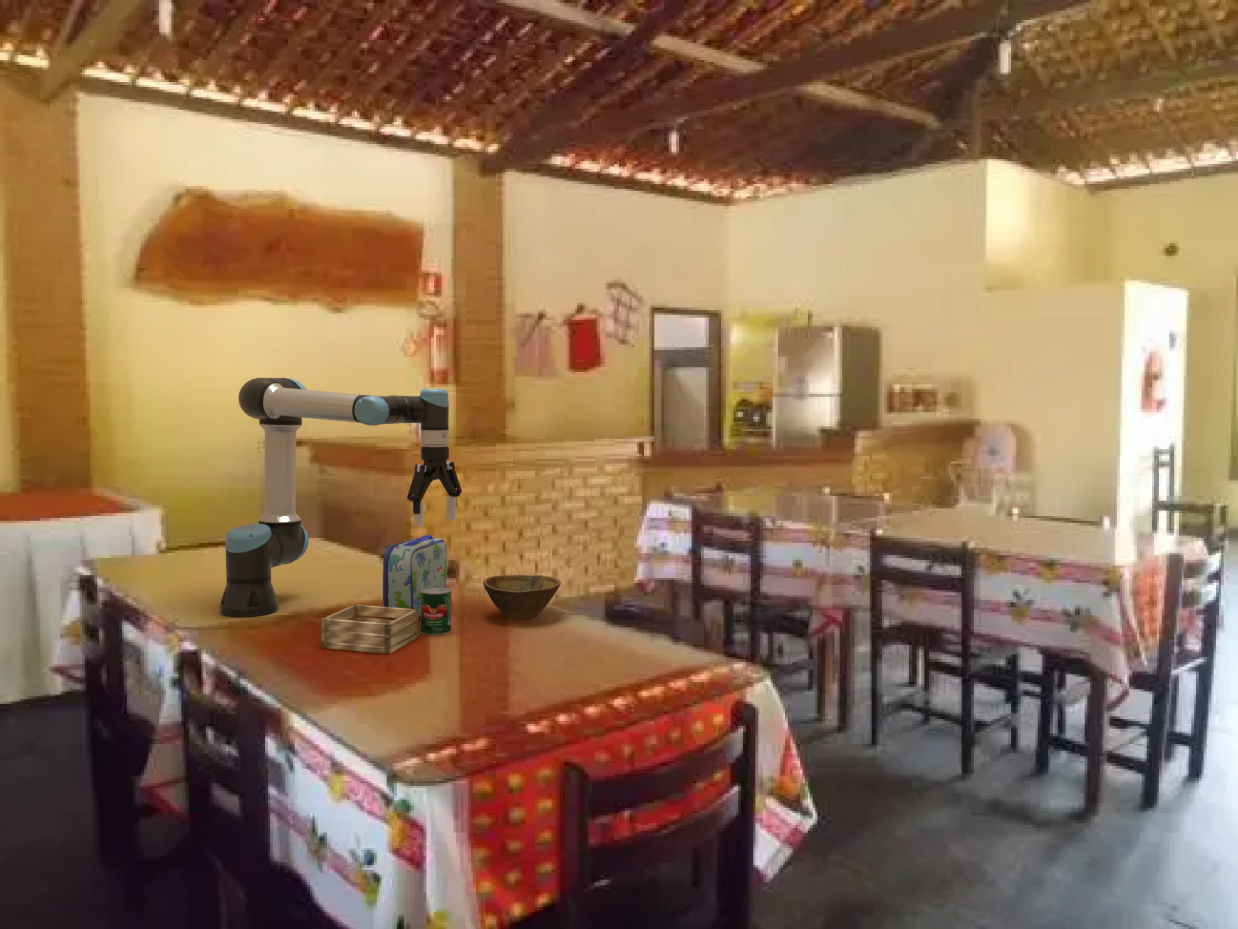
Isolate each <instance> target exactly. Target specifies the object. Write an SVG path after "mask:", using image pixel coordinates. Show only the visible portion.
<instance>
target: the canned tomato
mask: <svg viewBox="0 0 1238 929" xmlns="http://www.w3.org/2000/svg"><path fill="white" fill-rule="evenodd" d="M451 632H452V588H450V587H447V586H446V587H428V588H424V589H421V617H420V629H419V633H420V634H422V635H426V636H442V635H443V636H444V635H447V634H450V633H451Z"/></svg>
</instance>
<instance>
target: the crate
mask: <svg viewBox="0 0 1238 929" xmlns="http://www.w3.org/2000/svg"><path fill="white" fill-rule="evenodd" d="M390 618H392V619H390ZM320 622H321V623H320V626H321V627H320V629H321V630H320V631H321V632H320V634H321V648H322V649H323V648H324V649H329V650H331V649H333V650H341V651H343V650H344V651H354V652H367V653H376V654H385V655H386V654H387V655H388V654H389V655H391V654H392V653H394V652H396V651H397V650H399V649H401V648H403V647H404V646H407V644H409V643H411V642H412V641H414V640H416V639H417V638H419V637H420V636H419V635H420V618H419V610H417V609H404V608H392V607H384V606H377V605H366V604H365V605H363V604H352V605H350V606H347V607H346V608H343V609H341V610H339V611H337V612H334V613H331V614H330V615H328V616H326V617H323V618H321V619H320Z"/></svg>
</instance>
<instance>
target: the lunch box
mask: <svg viewBox="0 0 1238 929" xmlns="http://www.w3.org/2000/svg"><path fill="white" fill-rule="evenodd" d="M447 576H448V549H447V544H446V542H445V540H444V539H443V538H438V537H437V538H435V537H433V535H432V534H429V535H428V534H427V535H425V534H424V535H422V536H420V537H415V538H413V539H409V540H405V541H402V542H398V543H395V544H392V545H390V546H388V547H386V549H385V552H384V555H383V562H382V604H383V607H392V608H404V609H417V610H419V619H421V589H424V588H428V587H447V581H448V580H447Z"/></svg>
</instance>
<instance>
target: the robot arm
mask: <svg viewBox="0 0 1238 929" xmlns="http://www.w3.org/2000/svg"><path fill="white" fill-rule="evenodd" d="M419 394H420V395H396V394H395V395H370V394H369V395H368V394H367V395H366V394H355V393H346V392H345V393H344V392H335V391H334V392H333V391H326V390H325V391H324V390H311V389H307V388H306V387H305V385H304V384H302V382H300V381H298V380H296V379H294V378H287V377H256V378H255V377H254V378H252V379H250V380H248V381H246V382H245V383H244V384H243V385H242V386H241V388H240V390H239V392H238V396H237V397H238V398H237V399H238V404H239V407H240V409H241V410H242V412H243V413H245V415H247V416H249V418H252V419H255V420H258V425H259V426H260V427H261V428H262V429H263V430H264V487H263V488H264V489H263V490H264V492H263V493H264V496H263V498H264V503H263V504H264V505H263V506H264V507H263V508H264V511H263V514H262V515H261V516H260V517H259V518H258V523H253V524H252V523H251V524H246V525H245V524H244V525H239V526H236V527H233V528H231V529H230V530H228V531H227V533H226V536H225V543H224V544H225V545H224V549H225V570H226V572H225V576H226V578H225V579H226V581H225V583H226V584H225V587H224V591H223V593H222V597H221V600H220V603H219V613H220V614H221V615H224V616H227V617H240V618H241V617H242V618H244V617H259V616H263V615H268V614H271V613H275V612H276V611H278V610H279V600H278V597H277V595H276V591H275V589H274V586H273V583H272V568H275V567H279V566H282V565H288V564H292V563H293V562H295V561H297V560H299V559H301V557H303V556H304V554H305V553H306V552H307V549H308V547H309V539H310V538H309V534H308V531H307V530H306V529H305V526H304V525H303V524H302V518H301V517H300V516H299V515H298V514H297V512H296V506H297V505H296V504H297V503H296V501H297V500H296V499H297V498H296V497H297V495H296V492H297V491H296V490H297V482H296V481H297V475H296V474H297V431H298V430H299V429H300V428H301V427H302V426H303V418H304V419H315V420H325V421H326V420H327V421H334V422H335V421H337V422H345V423H346V422H348V423H357V424H362V425H365V426H373V427H375V426H379V425H393V424H395V425H396V424H420V444H421V445H422V446H421V448H420V458H421V460H422V461H423V464H415V466H414V474H413V478H412V481H411V482H410V483H411V484H410V486H409V489H408V493H407V496H406V499H407V501H409V502H412V512H413V525H414V527H424V525H425V519H424V518H425V516H424V514H425V511H424V510H425V509H424V508H425V505H424V504H425V502H424V501H422V500H423V499H424V496H425V494H426V492H427V491H428V489H429V487H430V485H431V483H432V482H434V481H437V480H439V482H440V483H441V484H442V486H443V488H444V490H445V491H446V493H447V495H448V496H446V520H448V521H456V520H457V507H458V506H457V504H458V503H457V502H458V500H457V497H458V498H459V497H460V496H461V494H462V492H463V491H462V488H461V483H460V481H459V478H458V475H457V473H456V472H457V471H456V468H455V462H454V461H447V460H449V459H450V447H449V446H448V445H449V444H450V443H449V438H450V437H449V436H450V435H449V434H450V433H449V429H450V427H449V426H450V425H449V422H450V421H449V418H450V417H449V414H450V413H449V412H450V403H449V402H450V401H449V392H448V390H446V389H443V388H437V389H436V388H422V389H421V390H420V393H419Z"/></svg>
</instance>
